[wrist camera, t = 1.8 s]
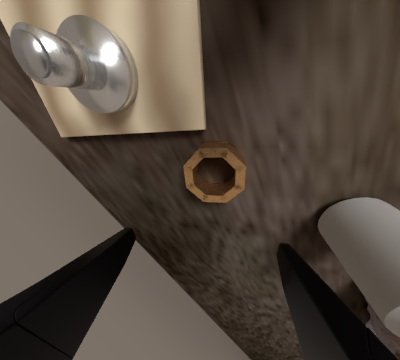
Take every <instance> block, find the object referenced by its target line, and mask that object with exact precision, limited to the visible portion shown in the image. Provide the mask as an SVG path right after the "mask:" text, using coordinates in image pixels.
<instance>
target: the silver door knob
mask: <svg viewBox="0 0 400 360" xmlns="http://www.w3.org/2000/svg"><path fill="white" fill-rule="evenodd" d="M10 44H11V48H12V51H13V54H14V56H15V58H16V60H17V61H18V63H19V64H20V66H21V67H22V69H23V70H24V71H25V73H26V74H27V75H28V76H29V77H30V78H31V79H33V80H34V81H35V82H37V83H39V84H42V85H47V86H56V87H66V88H68V89H69V90H70V92H71V93H72V94H73V95H74V97H75V98H76V99H77V100H78V101H79V102H80V103H81V104H83V105H84V106H85V107H87V108H89V109H90V110H93V111H95V112H98V113H116V112H122V111H125V110H127V109H128V108H129V107H130V106H131V105H132V104H133V103H134V101H135V99H136V96H137V93H138V86H139V79H138V71H137V67H136V63H135V61H134V58H133V56H132V54H131V52H130V50H129V48H128V47H127V45H126V44H125V42H124V41H123V40H122V39H121V38H120V37H119V36H118V35H117V34H116V33H115V32H113V31H112V30H110V29H109V28H107V27H105V26H104V25H102V24H101V23H99V22H97V21H96V20H94V19H92V18H90V17H88V16H85V15H72V16H69V17H67V18H66V19H65V20H64V21H63V22H62V23H61V24H60V26H59V28H58V30H57V33H56V34H53V33H51V32H48V31H46V30H43V29H41V28H38V27H36V26H33V25H31V24H28V23H25V22H18V23H16V24H14V25H13V27H12V29H11V33H10Z"/></svg>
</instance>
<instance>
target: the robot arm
mask: <svg viewBox="0 0 400 360" xmlns="http://www.w3.org/2000/svg"><path fill="white" fill-rule="evenodd" d="M135 240H136V236H135V233H134V231H133V229H132V228H125V229H123V230H121V231H120V232H118V233H117V234H115V235H113V236H112V237H110V238H108V239H107V240H105V241H104V242H102V243H100V244H99V245H97V246H96V247H94V248H92V249H91V250H89V251H88V252H86V253H84V254H83V255H81V256H80V257H78V258H76V259H75V260H73V261H71V262H70V263H68V264H67V265H65V266H63V267H62V268H60V269H59V270H57V271H55V272H54V273H52V274H51V275H49V276H47V277H46V278H44V279H42V280H41V281H39V282H38V283H36V284H34V285H32V286H31V287H29V288H27V289H25V290H24V291H22V292H20V293H18V294H17V295H15V296H13V297H12V298H10V299H8V300H6V301H4V302H2V303H1V304H0V360H72V359H73V357H74V356H75V354H76V352H77V350H78V348H79V346H80V345H81V343H82V341H83V339H84V337H85V335H86V334H87V332H88V330H89V328H90V326H91V325H92V323H93V321H94V319H95V317H96V316H97V314H98V312H99V310H100V308H101V306H102V305H103V303H104V301H105V299H106V297H107V295H108V294H109V292H110V290H111V288H112V286H113V285H114V283H115V281H116V279H117V277H118V276H119V274H120V272H121V270H122V268H123V266H124V264H125V262H126V260H127V258H128V256H129V254H130V251H131V249H132V247H133V245H134V242H135ZM277 259H278V264H279V270H280V275H281V280H282V285H283V289H284V293H285V296H286V300H287V303H288V306H289V310H290V313H291V316H292V320H293V323H294V326H295V330H296V333H297V336H298V340H299V343H300V346H301V350H302V353H303V356H304V360H399V359H398V358H397V357H396V356H395V355H394V354H393V353H392V352H391V351H390V350H389V349H388V348H387V347H386V346H385V345H384V344H383V343H382V342H381V341H380V340H379V339H378V337H377V336H376V335H374V333H373V332H372V331H371V330H370V329H369V328H366V325H365V324H364V323H363V322H362V321H361V320H360V319H359V318H358V317H357V315H356V314H355V313H354V312H353V311H352V310H351V309H350V308H349V307H348V306H347V305H346V304H345V303H344V302H343V301H342V300H341V299H340V298H339V296H338V295H337V294H336V293H335V292H334V291H333V290H332V289H331V288H330V287H329V286H328V285H327V284H326V283H325V282H324V281H323V280H322V279H321V278H320V276H319V275H318V274H317V273H316V272H315V271H314V270H313V269H312V268H311V267H310V266H309V265H308V264H307V263H306V262H305V261H304V260H303V259H302V258H301V256H300V255H299V254H298V253H297V252H296V251H295V250H294V249H293V248H292V247H291V246H290V245H289V244H286V243H280V244H279V247H278V251H277Z"/></svg>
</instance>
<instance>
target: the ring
mask: <svg viewBox="0 0 400 360" xmlns="http://www.w3.org/2000/svg"><path fill="white" fill-rule="evenodd" d="M216 157H223V158H224V159H225V160H226V161H227V162H228V163H229V164H230V165H231V166H232V167H233V168H234V169H235V173H234V175H233V176H232V177H231V178H230V179H229V180H227V181H226V182H225V183H224V184H215V183H208V182H207V181H206V180H205V179H204V178H203V177H201V176H200V175H199V172H198V163H199V162H200V161H201V160H202V159H203V158H216ZM183 168H184V175H185V182H186V188H187V189H188V190H190V191H191V192H192V193H193V194H195V195H196V196H197V197H198V198H199V199H201V200H202V201H203V202H219V203H227V202H228V201H229V200H231V199H232V198H233V197H235V196H236V195H237V194H239V193H240V192H241V191H243V190H244V185H245V172H246V164H245V161H244V157H243V156H242V155H241V154H240V153H239V152H238V151H237V150H236V149H235V148H234V147H233V146H232V145H231V144H230V143H229V142H228V141H215V142H203V143H202V144H201V146H200V147H199V148H198V149H197V150H196V151H195V152H194V154H193V155H192V156H191V157H190V158H189V159H188V161H187V162H186V163H185V165H184V166H183Z"/></svg>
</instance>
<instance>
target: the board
mask: <svg viewBox="0 0 400 360" xmlns="http://www.w3.org/2000/svg"><path fill="white" fill-rule="evenodd" d="M72 15H85V16H88V17H90V18H92V19H94V20H96V21H97V22H99V23H101V24H102V25H104V26H105V27H107V28H109V29H110V30H112V31H113V32H115V33H116V34H117V35H118V36H119V37H120V38H121V39H122V40H123V41H124V42H125V44H126V45H127V47H128V48H129V50H130V52H131V54H132V56H133V58H134V61H135V63H136V67H137V71H138V79H139V86H138V93H137V96H136V99H135V101H134V103H133V104H132V105H131V106H130V107H129V108H128V109H127V110H125V111H122V112H116V113H98V112H95V111H93V110H90V109H89V108H87V107H85V106H84V105H83V104H81V103H80V102H79V101H78V100H77V99H76V98H75V97H74V95H73V94H72V93H71V92H70V90H69V89H68V88H66V87H56V86H47V85H42V84H39V83H37V82H35V81H34V80H33V79H32V81H33V83H34V85H35V87H36V89H37V91H38V93H39V95H40V97H41V98H42V100H43V102H44V104H45V106H46V108H47V110H48V112H49V114H50V116H51V118H52V120H53V122H54V124H55V126H56V128H57V129H58V131H59V133H60V135H61V137H75V136H94V135H112V134H131V133H149V132H168V131H186V130H205V129H206V113H205V94H204V75H203V56H202V37H201V19H200V0H0V19H1V21H2V23H3V25H4V27H5V29H6V31H7V33H8V34H9V36H10V33H11V29H12V27H13V25H14V24H16V23H18V22H25V23H28V24H31V25H33V26H36V27H38V28H41V29H43V30H46V31H48V32H51V33H53V34H56V33H57V30H58V28H59V26H60V24H61V23H62V22H63V21H64V20H65V19H66V18H67V17H69V16H72Z"/></svg>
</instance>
